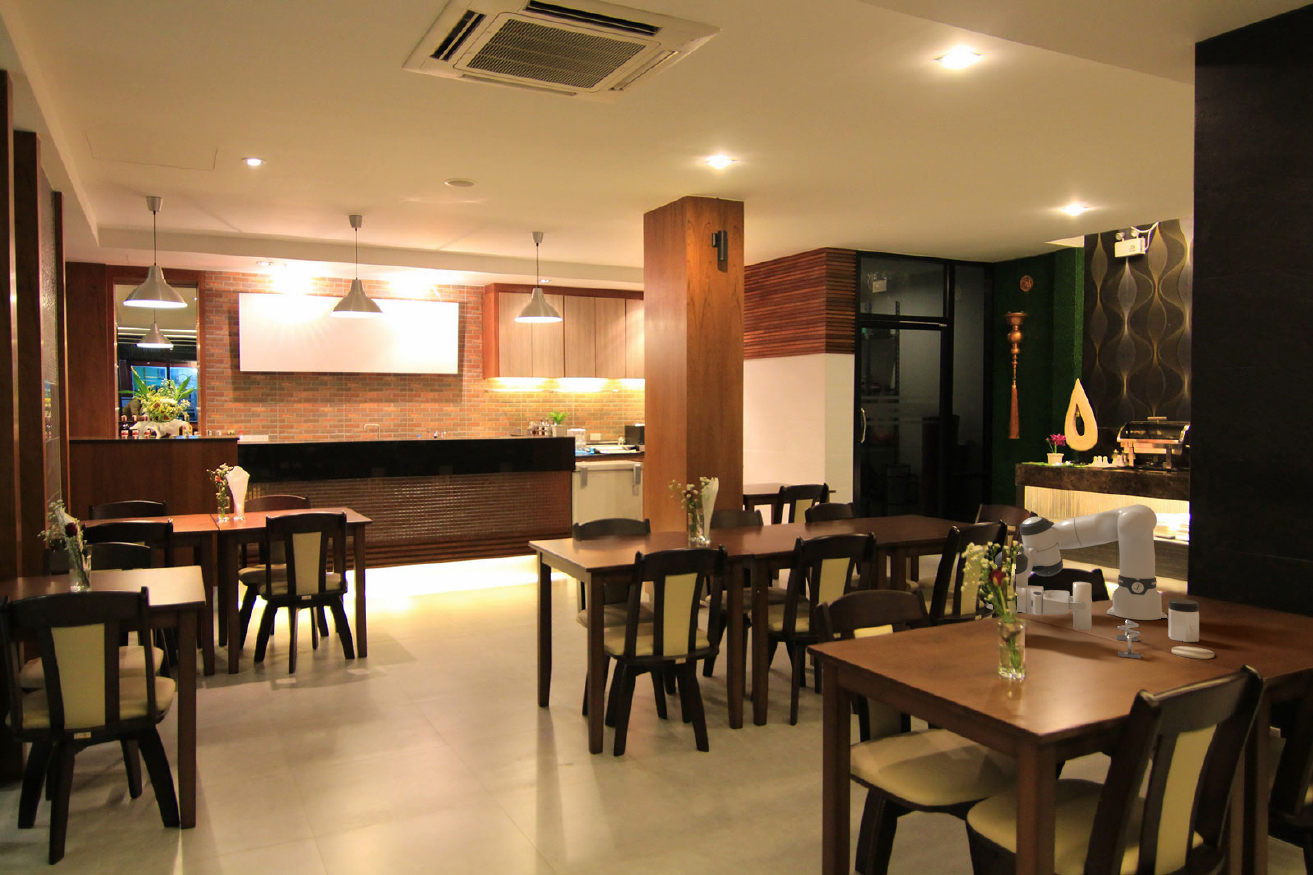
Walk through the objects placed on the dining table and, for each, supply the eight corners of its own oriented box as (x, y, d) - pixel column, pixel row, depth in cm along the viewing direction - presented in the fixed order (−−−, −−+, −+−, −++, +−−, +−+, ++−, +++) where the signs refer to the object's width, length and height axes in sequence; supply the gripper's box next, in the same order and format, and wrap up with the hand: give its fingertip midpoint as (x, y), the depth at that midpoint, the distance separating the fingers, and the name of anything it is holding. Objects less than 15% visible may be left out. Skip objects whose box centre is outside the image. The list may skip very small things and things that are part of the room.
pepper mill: (1073, 625, 285) (1073, 581, 284) (1091, 627, 283) (1091, 582, 282) (1072, 629, 280) (1072, 584, 280) (1091, 630, 278) (1091, 585, 277)
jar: (1179, 642, 282) (1179, 604, 281) (1161, 636, 290) (1161, 599, 289) (1205, 641, 283) (1206, 603, 282) (1187, 635, 291) (1187, 598, 291)
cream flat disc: (1170, 647, 276) (1170, 644, 276) (1212, 651, 271) (1212, 648, 271) (1172, 656, 266) (1172, 653, 266) (1216, 660, 261) (1216, 657, 261)
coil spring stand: (1116, 637, 289) (1116, 617, 289) (1137, 639, 286) (1137, 619, 286) (1118, 656, 266) (1118, 635, 266) (1141, 659, 264) (1141, 637, 264)
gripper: (1039, 603, 296) (1085, 606, 290) (1035, 616, 278) (1085, 620, 272) (1038, 584, 296) (1085, 587, 290) (1035, 596, 278) (1085, 599, 272)
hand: (1085, 603), depth 281 cm, fingers closed on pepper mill, 5 cm apart
